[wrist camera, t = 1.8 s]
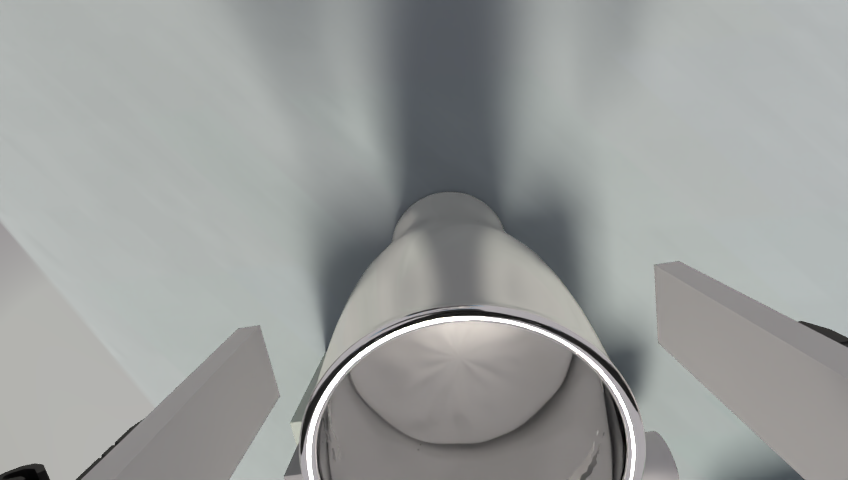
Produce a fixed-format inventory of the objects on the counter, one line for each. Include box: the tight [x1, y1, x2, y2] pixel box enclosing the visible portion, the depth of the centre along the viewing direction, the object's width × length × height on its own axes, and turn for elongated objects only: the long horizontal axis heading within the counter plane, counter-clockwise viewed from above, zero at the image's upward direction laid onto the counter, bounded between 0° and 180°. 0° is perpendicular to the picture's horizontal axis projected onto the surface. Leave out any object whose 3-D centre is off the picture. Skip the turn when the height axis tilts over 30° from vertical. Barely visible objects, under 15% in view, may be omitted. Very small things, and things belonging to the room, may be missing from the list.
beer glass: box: [299, 192, 646, 480], centre depth 15 cm, size 7×7×15 cm
